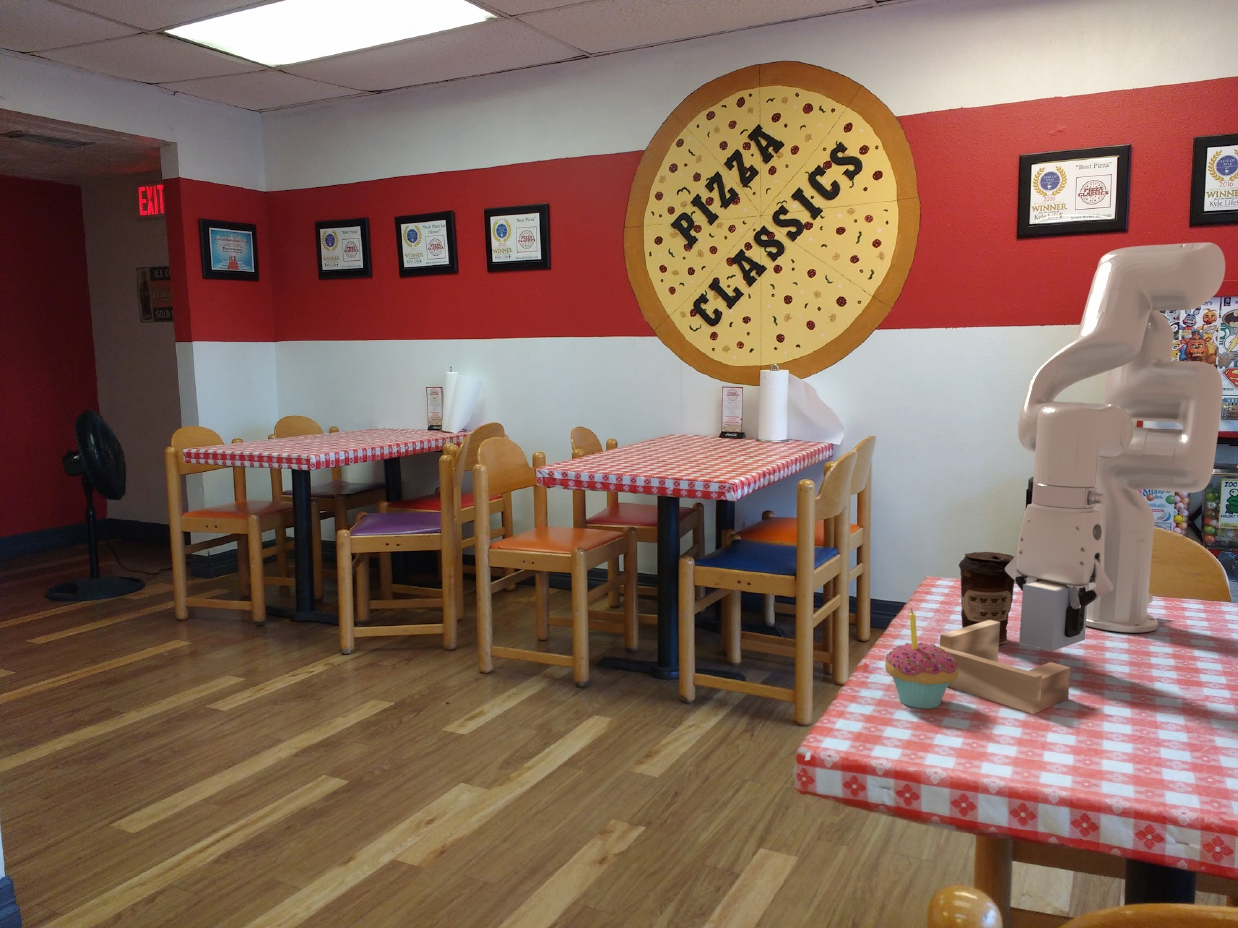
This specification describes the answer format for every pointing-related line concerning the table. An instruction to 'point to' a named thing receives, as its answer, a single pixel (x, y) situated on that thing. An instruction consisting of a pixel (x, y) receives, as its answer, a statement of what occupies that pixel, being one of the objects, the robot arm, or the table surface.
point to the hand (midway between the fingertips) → (1053, 629)
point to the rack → (1001, 671)
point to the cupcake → (920, 671)
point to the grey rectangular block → (1046, 616)
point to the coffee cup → (986, 589)
